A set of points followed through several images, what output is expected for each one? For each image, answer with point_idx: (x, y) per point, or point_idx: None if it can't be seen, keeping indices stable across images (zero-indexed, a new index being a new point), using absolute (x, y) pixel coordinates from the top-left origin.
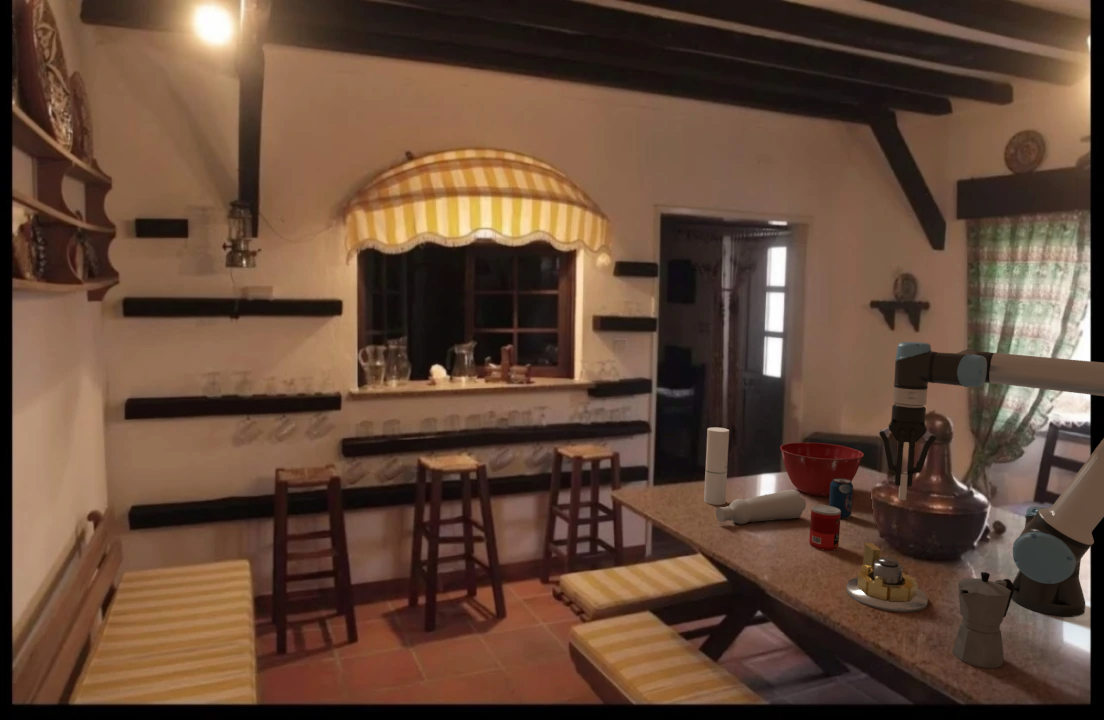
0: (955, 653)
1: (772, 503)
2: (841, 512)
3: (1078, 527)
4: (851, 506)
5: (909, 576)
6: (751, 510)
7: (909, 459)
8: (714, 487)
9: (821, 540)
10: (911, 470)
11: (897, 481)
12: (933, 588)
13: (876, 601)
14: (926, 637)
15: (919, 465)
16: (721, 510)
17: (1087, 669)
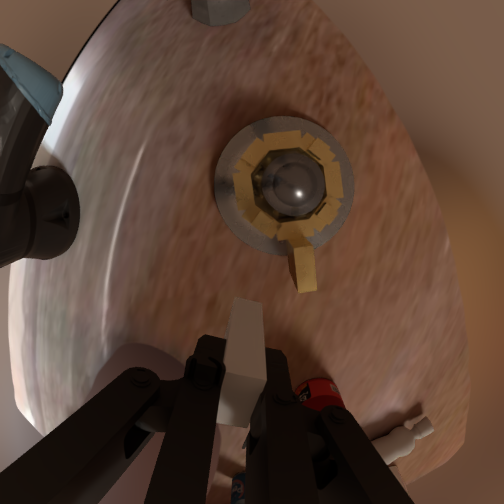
0: (249, 4)
1: None
2: None
3: None
4: (233, 485)
5: (237, 202)
6: (392, 443)
7: (201, 466)
8: (398, 480)
9: (330, 387)
10: (193, 389)
11: (276, 361)
12: (182, 238)
13: (319, 135)
14: (270, 41)
15: (123, 404)
16: (432, 426)
17: (104, 22)
